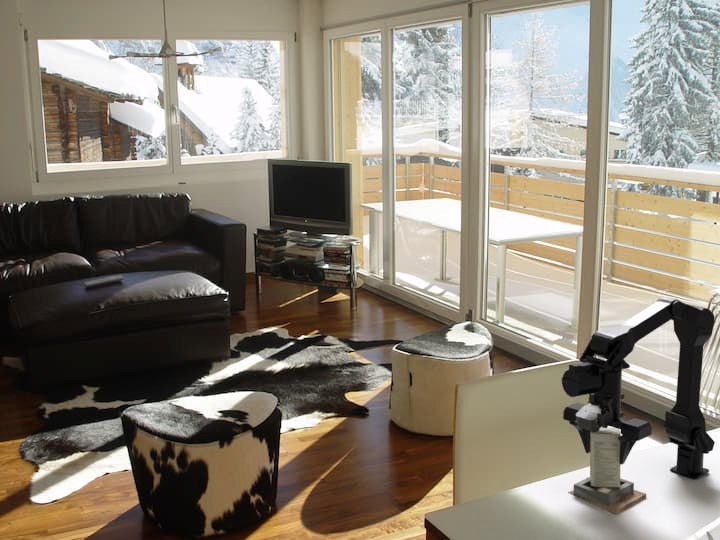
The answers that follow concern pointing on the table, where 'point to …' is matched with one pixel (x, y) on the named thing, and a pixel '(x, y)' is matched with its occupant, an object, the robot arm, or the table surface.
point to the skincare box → (605, 458)
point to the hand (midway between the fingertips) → (604, 458)
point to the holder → (608, 495)
